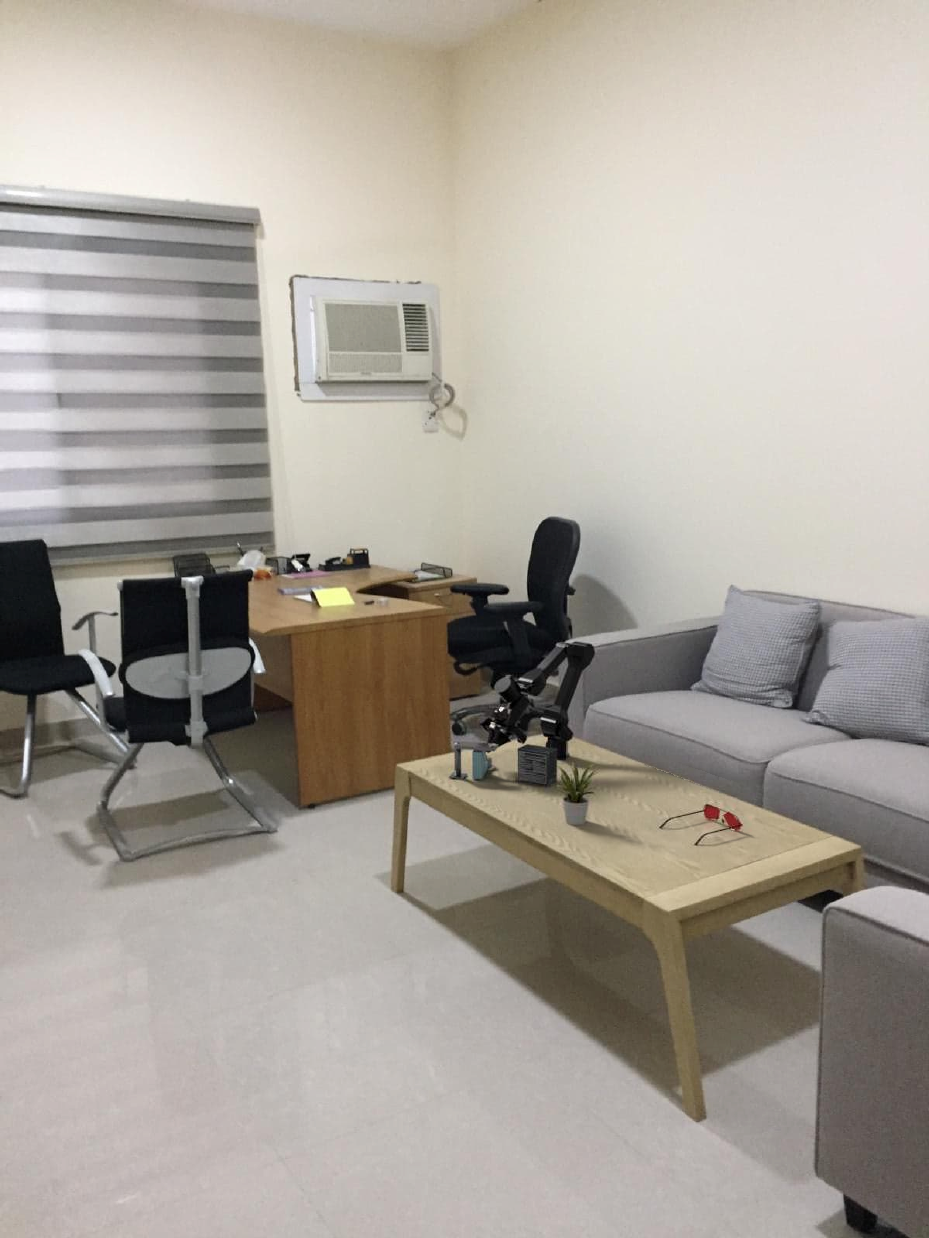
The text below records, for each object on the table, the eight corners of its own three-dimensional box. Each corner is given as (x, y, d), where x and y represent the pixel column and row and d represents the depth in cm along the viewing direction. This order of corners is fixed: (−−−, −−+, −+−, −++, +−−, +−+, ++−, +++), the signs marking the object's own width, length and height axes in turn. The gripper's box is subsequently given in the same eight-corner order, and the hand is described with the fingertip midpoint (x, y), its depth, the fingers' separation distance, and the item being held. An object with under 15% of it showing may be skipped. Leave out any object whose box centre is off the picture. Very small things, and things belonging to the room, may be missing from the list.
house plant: (610, 814, 273) (611, 756, 270) (603, 832, 260) (604, 772, 257) (558, 810, 277) (559, 753, 274) (549, 827, 264) (549, 767, 261)
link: (478, 763, 319) (477, 738, 318) (493, 764, 318) (492, 738, 317) (469, 778, 304) (469, 751, 303) (484, 779, 303) (484, 752, 302)
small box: (558, 781, 302) (558, 747, 300) (548, 787, 296) (548, 753, 295) (527, 776, 307) (527, 742, 306) (516, 781, 302) (516, 748, 300)
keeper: (498, 777, 306) (498, 743, 304) (494, 782, 301) (494, 748, 300) (453, 773, 310) (453, 740, 308) (448, 778, 305) (448, 744, 304)
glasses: (743, 834, 259) (744, 816, 258) (694, 847, 251) (695, 827, 250) (705, 818, 271) (706, 800, 270) (658, 829, 263) (658, 811, 262)
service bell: (497, 764, 318) (497, 753, 318) (492, 771, 312) (492, 759, 311) (476, 763, 320) (476, 751, 320) (470, 769, 314) (470, 757, 313)
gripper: (481, 690, 315) (453, 730, 310) (519, 701, 300) (490, 744, 295) (500, 710, 321) (473, 750, 316) (539, 722, 306) (511, 764, 301)
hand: (486, 751), depth 307 cm, fingers closed
